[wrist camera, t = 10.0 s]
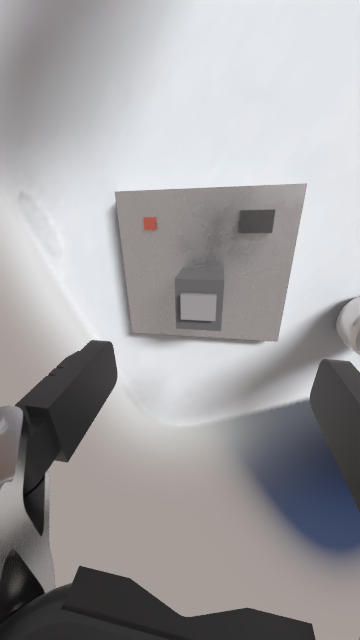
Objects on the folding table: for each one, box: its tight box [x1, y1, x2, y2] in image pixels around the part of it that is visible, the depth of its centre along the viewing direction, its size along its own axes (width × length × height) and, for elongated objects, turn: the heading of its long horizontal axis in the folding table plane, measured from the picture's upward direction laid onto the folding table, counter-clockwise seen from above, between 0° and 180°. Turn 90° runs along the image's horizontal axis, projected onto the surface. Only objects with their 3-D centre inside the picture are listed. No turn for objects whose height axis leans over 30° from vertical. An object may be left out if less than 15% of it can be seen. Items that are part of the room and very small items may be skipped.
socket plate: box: [115, 184, 307, 342], centre depth 25 cm, size 16×18×3 cm
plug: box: [175, 268, 225, 331], centre depth 23 cm, size 5×4×8 cm
